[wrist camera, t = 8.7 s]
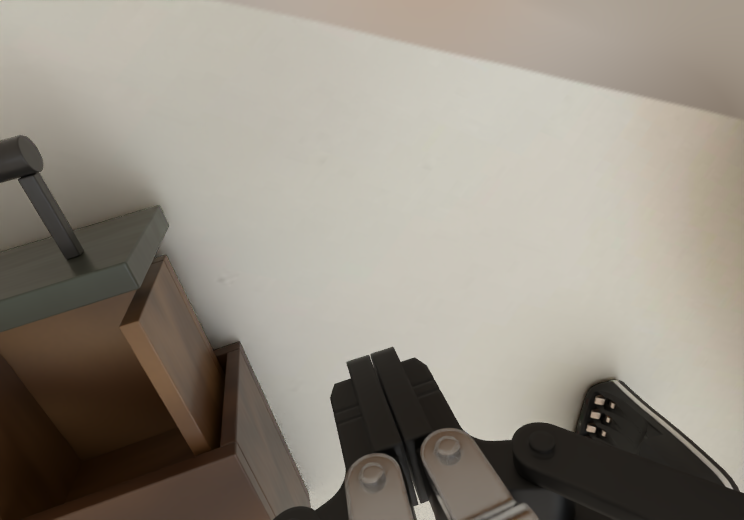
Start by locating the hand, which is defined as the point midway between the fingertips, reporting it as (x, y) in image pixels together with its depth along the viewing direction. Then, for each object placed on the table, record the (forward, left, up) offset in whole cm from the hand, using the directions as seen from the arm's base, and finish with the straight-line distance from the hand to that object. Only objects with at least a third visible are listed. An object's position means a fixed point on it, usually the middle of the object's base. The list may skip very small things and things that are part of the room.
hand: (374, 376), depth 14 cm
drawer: (0, -13, -13) cm, 19 cm away
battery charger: (+23, +17, -14) cm, 32 cm away
